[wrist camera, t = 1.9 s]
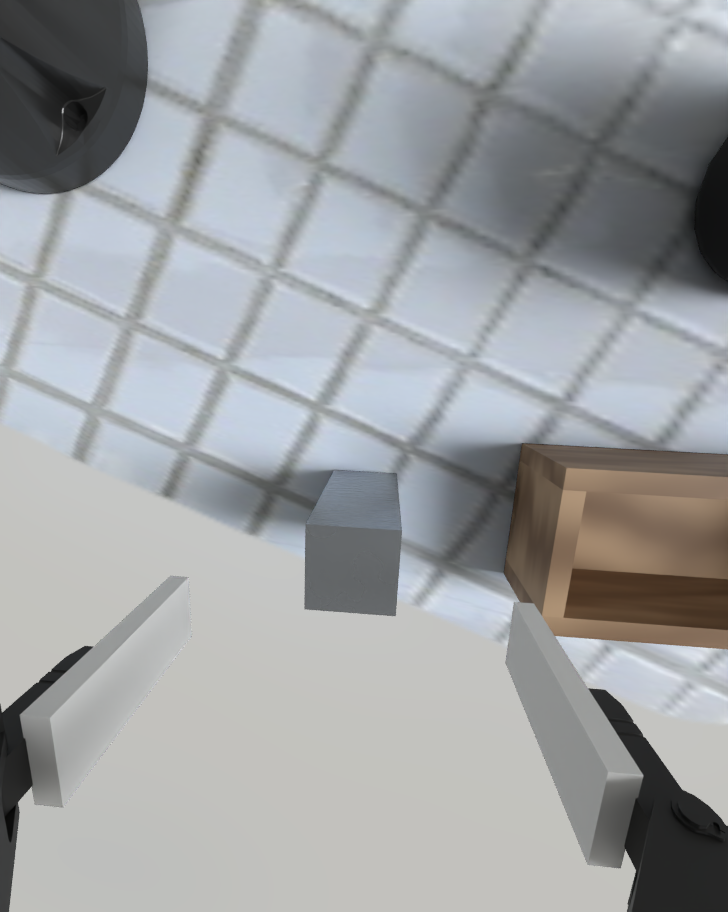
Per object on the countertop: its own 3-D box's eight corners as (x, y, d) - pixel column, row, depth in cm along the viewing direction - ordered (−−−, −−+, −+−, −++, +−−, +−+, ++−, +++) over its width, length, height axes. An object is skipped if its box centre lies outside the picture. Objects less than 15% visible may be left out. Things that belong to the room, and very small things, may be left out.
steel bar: (334, 469, 28) (305, 524, 18) (396, 473, 28) (401, 530, 18) (332, 528, 29) (304, 609, 19) (392, 532, 29) (395, 616, 19)
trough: (522, 443, 27) (566, 467, 20) (837, 460, 26) (994, 492, 19) (503, 573, 29) (538, 634, 22) (793, 593, 28) (920, 664, 21)
